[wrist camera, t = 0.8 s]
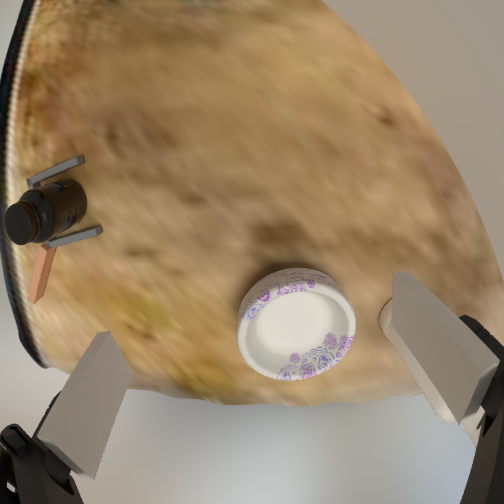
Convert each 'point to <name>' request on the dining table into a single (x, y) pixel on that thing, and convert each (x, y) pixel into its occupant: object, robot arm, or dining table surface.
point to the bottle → (425, 377)
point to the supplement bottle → (45, 212)
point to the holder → (50, 246)
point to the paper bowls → (294, 324)
